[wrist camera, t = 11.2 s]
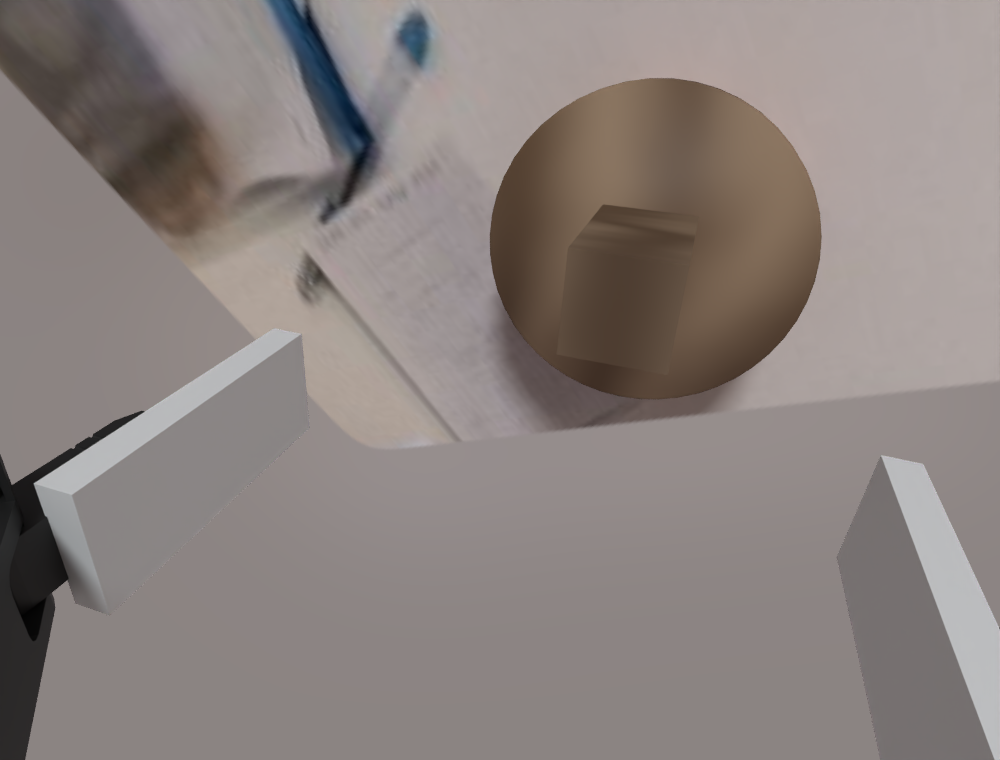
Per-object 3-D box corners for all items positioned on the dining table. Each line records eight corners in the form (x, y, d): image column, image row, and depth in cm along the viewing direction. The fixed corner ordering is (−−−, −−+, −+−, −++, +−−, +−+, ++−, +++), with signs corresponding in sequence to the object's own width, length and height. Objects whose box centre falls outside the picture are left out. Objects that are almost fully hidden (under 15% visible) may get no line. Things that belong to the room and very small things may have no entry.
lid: (488, 362, 34) (429, 439, 27) (504, 65, 27) (431, 72, 21) (770, 417, 30) (781, 520, 24) (866, 93, 24) (918, 111, 17)
